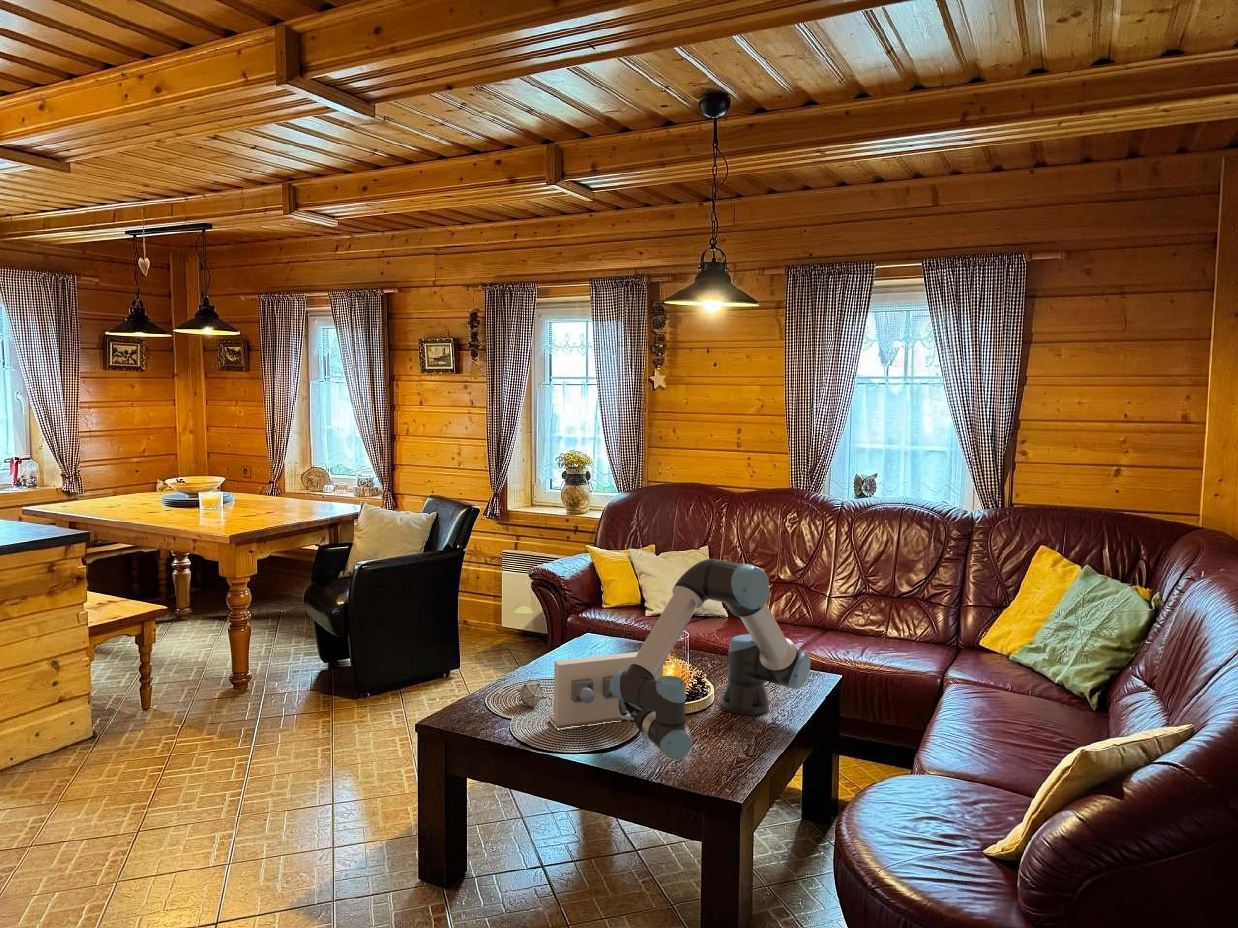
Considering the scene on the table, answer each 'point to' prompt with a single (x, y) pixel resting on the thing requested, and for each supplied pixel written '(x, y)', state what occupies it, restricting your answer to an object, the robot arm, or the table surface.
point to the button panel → (594, 676)
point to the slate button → (586, 695)
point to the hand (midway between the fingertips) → (620, 693)
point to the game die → (531, 694)
